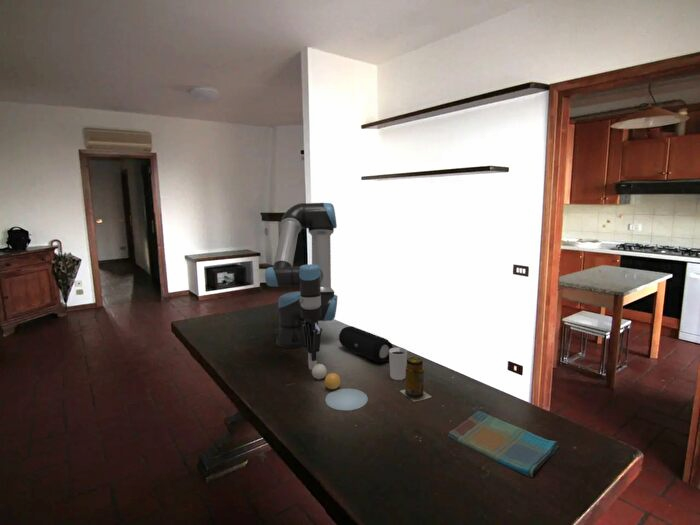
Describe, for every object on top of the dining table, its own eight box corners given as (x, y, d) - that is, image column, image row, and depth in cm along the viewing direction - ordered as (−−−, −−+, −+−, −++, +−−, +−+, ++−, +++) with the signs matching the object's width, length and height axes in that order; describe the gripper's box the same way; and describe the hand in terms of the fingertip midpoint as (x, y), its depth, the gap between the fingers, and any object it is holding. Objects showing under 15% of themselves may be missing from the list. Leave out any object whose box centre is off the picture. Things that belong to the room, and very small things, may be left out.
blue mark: (338, 385, 139) (338, 385, 139) (374, 394, 133) (374, 393, 133) (317, 404, 127) (317, 403, 127) (356, 414, 120) (355, 414, 120)
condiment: (417, 386, 138) (417, 354, 136) (432, 397, 130) (432, 363, 128) (399, 391, 134) (399, 358, 132) (413, 402, 127) (414, 367, 125)
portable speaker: (337, 349, 173) (336, 327, 172) (354, 343, 179) (354, 322, 178) (377, 367, 154) (377, 343, 152) (394, 360, 160) (394, 337, 158)
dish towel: (532, 482, 92) (532, 472, 91) (446, 439, 109) (446, 430, 108) (559, 449, 103) (560, 441, 103) (477, 415, 120) (478, 407, 120)
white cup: (409, 374, 147) (409, 348, 145) (403, 381, 141) (404, 355, 140) (392, 371, 150) (392, 346, 148) (386, 378, 144) (386, 352, 142)
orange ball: (330, 383, 141) (329, 369, 140) (343, 386, 138) (343, 372, 137) (322, 390, 136) (321, 375, 135) (335, 393, 134) (335, 378, 133)
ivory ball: (317, 359, 147) (323, 362, 143) (325, 369, 149) (331, 372, 144) (306, 370, 145) (312, 373, 140) (315, 380, 147) (321, 383, 142)
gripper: (294, 304, 148) (296, 364, 151) (309, 312, 137) (311, 376, 140) (312, 302, 152) (314, 360, 155) (328, 309, 141) (329, 371, 144)
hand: (312, 367), depth 147 cm, fingers closed
